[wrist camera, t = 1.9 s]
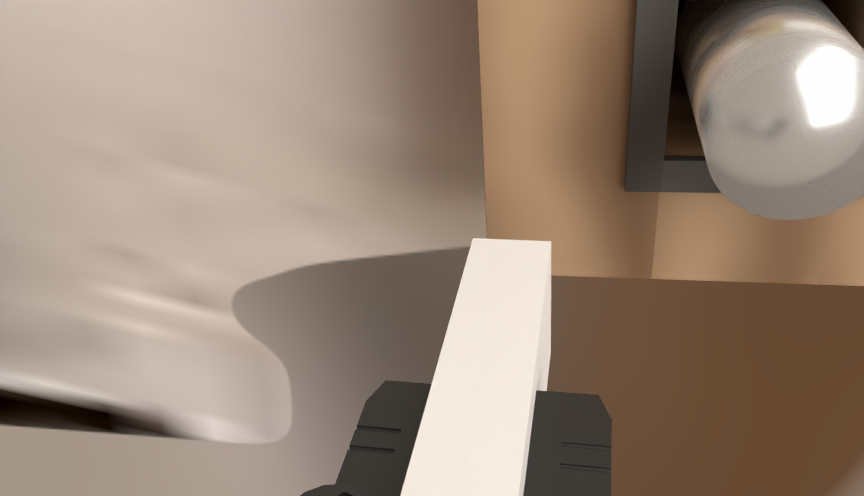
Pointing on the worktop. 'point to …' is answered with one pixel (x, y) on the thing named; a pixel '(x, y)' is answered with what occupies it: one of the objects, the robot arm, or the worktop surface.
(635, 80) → the socket block
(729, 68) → the peg
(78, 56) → the worktop surface
